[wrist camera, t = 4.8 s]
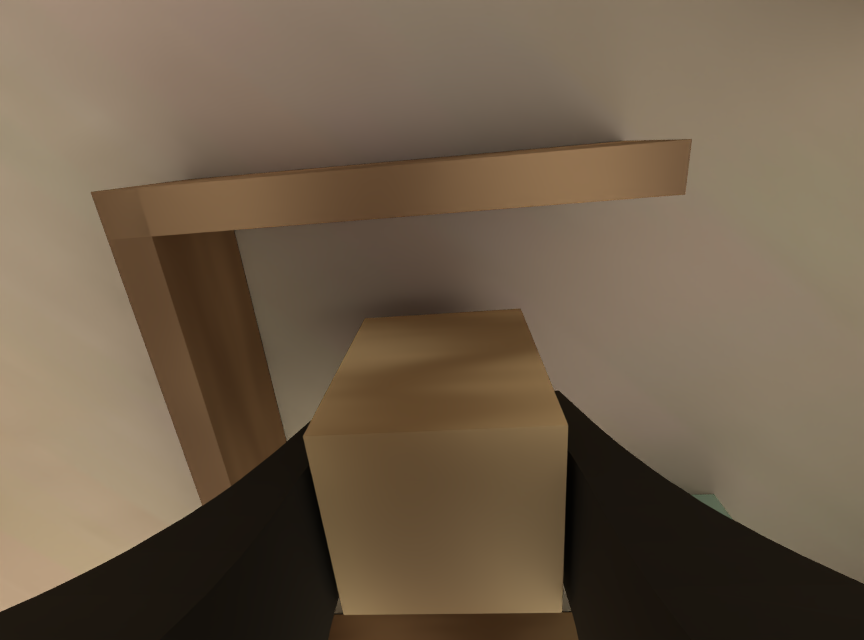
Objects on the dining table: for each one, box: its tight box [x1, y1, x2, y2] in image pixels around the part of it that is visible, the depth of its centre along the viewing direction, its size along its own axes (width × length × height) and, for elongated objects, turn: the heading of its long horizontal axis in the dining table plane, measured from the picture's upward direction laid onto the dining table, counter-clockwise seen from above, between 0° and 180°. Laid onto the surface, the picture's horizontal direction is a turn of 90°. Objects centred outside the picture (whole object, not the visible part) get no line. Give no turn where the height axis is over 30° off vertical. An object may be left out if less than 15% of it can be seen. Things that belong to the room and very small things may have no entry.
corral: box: [91, 139, 692, 640], centre depth 14 cm, size 12×19×4 cm, turn 5°
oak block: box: [303, 309, 568, 615], centre depth 10 cm, size 4×4×5 cm
